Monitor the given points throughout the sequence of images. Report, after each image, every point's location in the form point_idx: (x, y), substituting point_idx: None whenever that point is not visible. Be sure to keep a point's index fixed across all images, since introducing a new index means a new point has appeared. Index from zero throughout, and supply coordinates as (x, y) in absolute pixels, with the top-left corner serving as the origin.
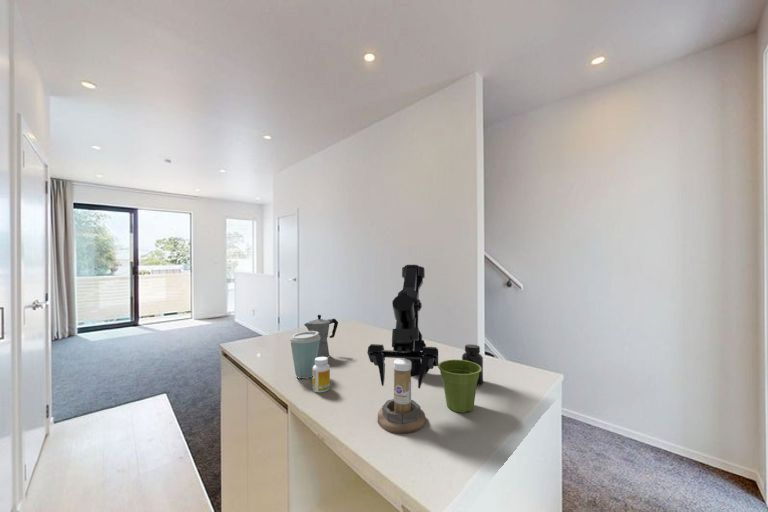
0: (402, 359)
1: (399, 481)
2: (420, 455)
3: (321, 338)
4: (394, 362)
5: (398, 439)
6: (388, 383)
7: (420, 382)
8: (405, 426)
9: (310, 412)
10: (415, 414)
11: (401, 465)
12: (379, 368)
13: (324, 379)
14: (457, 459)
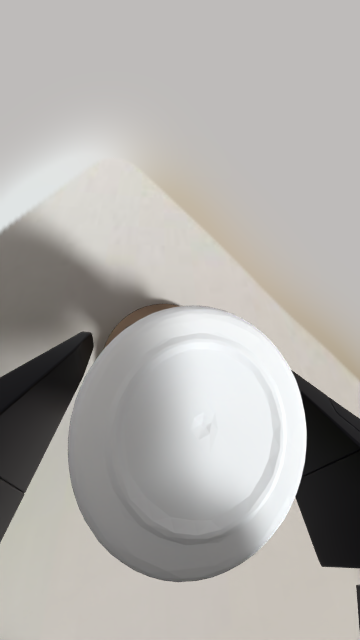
0: (207, 510)
1: (164, 195)
2: (129, 244)
3: None
4: (290, 369)
5: (168, 289)
6: (217, 635)
7: (68, 340)
8: (154, 306)
9: (349, 374)
10: (127, 326)
11: (161, 224)
12: (340, 408)
13: None
14: (61, 233)
